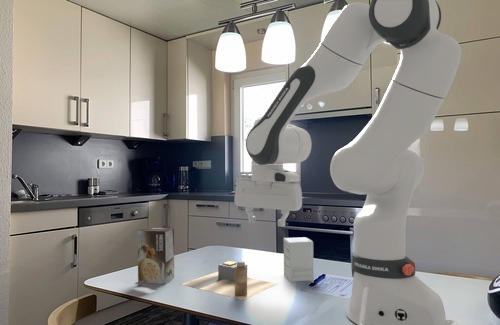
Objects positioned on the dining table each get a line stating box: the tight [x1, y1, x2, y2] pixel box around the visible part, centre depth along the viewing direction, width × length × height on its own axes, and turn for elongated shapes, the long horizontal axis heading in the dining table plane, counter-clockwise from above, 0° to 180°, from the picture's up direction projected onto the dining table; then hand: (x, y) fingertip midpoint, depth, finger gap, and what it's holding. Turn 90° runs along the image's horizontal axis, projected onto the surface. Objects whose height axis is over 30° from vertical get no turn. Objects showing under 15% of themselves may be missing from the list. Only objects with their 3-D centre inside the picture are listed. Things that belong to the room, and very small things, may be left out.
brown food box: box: [137, 227, 175, 287], centre depth 110 cm, size 9×6×16 cm
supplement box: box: [283, 236, 315, 283], centre depth 112 cm, size 7×7×13 cm
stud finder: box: [217, 260, 248, 282], centre depth 111 cm, size 7×5×4 cm
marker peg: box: [235, 261, 248, 296], centre depth 97 cm, size 3×3×8 cm
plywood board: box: [180, 271, 277, 301], centre depth 105 cm, size 22×16×1 cm
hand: (266, 224), depth 104 cm, fingers open, 8 cm apart
